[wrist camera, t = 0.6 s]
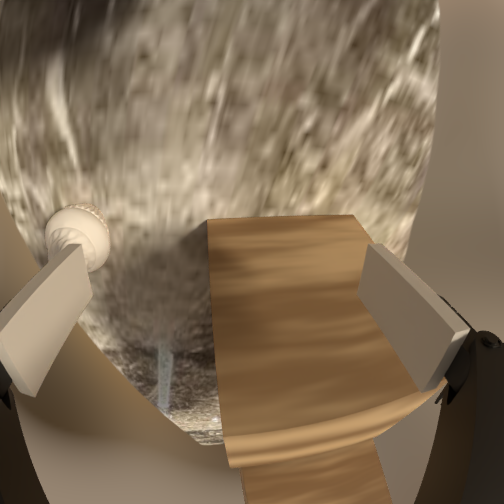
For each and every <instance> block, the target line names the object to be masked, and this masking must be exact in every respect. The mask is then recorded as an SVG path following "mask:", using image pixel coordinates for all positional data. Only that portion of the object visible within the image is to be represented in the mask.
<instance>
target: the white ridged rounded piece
mask: <svg viewBox="0 0 504 504" xmlns="http://www.w3.org/2000/svg"><path fill="white" fill-rule="evenodd" d="M109 235H110V234H109V230H108V227H107V224H106V222H105V219H104V216H103V214H102V213H101V211H99V209H97V207H94V205H91V204H77V205H70V206H69V207H65V208H64V209H62V210H60V211H58V212H57V213H55V214H54V215H53V216H52V217H51V218H50V220H49V221H48V223H47V225H46V229H45V243H46V247H47V250H48V261H50V260H51V259H53V258H54V257H55V256H56V255H57V254H58V253H59V252H60V251H61V250H62V249H63V248H65V247H66V246H67V245H68V244H82V248H83V253H84V258H85V263H86V267H87V272H88V273H90V272H93V271H95V270H97V269H98V268H100V267H101V266H102V265H103V264H104V263H105V261H106V260H107V258H108V256H109V253H110V238H109Z"/></svg>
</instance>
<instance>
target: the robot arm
mask: <svg viewBox="0 0 504 504" xmlns="http://www.w3.org/2000/svg"><path fill="white" fill-rule="evenodd" d="M357 296H358V297H359V298H360V300H361V301H362V303H363V304H364V306H365V307H366V309H367V310H368V311H369V313H370V314H371V316H372V317H373V319H374V320H375V322H376V323H377V325H378V326H379V328H380V329H381V331H382V332H383V334H384V335H385V337H386V338H387V340H388V341H389V343H390V344H391V346H392V347H393V349H394V351H395V352H396V354H397V355H398V357H399V358H400V360H401V362H402V363H403V365H404V366H405V368H406V369H407V371H408V373H409V374H410V376H411V378H412V379H413V381H414V383H415V384H416V386H417V387H418V389H419V391H420V392H421V393H424V392H427V391H430V390H433V389H436V388H437V387H438V385H439V383H440V382H441V380H442V379H443V377H445V379H446V380H447V381H448V383H447V385H446V386H445V387H444V389H443V391H442V392H441V393H440V395H439V396H438V398H437V399H436V401H435V404H437V403H438V402H439V400H440V399H442V403H441V410H440V416H439V421H438V426H437V430H436V434H435V439H434V443H433V447H432V451H431V454H430V458H429V462H428V465H427V468H426V471H425V474H424V477H423V481H422V484H421V486H420V489H419V492H418V495H417V497H416V500H415V502H414V504H504V343H502V341H501V340H500V339H499V338H498V337H497V336H496V335H495V334H493V333H491V332H489V331H479V332H476V331H475V330H474V329H473V328H472V327H471V326H470V325H469V323H468V322H467V321H466V320H465V319H464V318H463V317H462V316H461V315H460V314H459V313H457V311H456V310H455V309H454V308H453V307H451V305H450V304H449V303H448V302H447V301H446V300H445V299H444V298H443V297H441V296H439V295H438V294H436V293H435V292H434V291H433V290H432V289H431V288H430V287H429V286H428V285H427V284H426V283H425V282H424V281H422V280H421V279H420V278H419V277H418V276H417V275H416V274H415V273H414V272H413V271H412V270H411V269H409V268H408V267H407V266H406V265H405V264H404V263H403V262H402V261H401V260H400V259H398V258H397V257H396V256H395V255H394V254H393V253H392V252H390V251H389V250H388V249H387V248H386V247H385V246H384V245H382V244H368V246H367V251H366V256H365V260H364V265H363V269H362V274H361V278H360V283H359V287H358V291H357ZM92 297H93V292H92V288H91V284H90V280H89V276H88V272H87V267H86V263H85V258H84V253H83V248H82V244H68V245H67V246H66V247H65V248H63V249H62V250H61V251H60V252H59V253H58V254H57V255H56V256H55V257H54V258H53V259H51V260H50V261H49V262H48V263H47V264H46V265H45V266H44V267H43V268H42V269H41V270H40V271H39V272H38V273H37V274H36V275H35V276H34V277H33V278H32V279H31V280H30V281H29V282H28V283H27V284H26V285H25V286H24V287H23V288H22V289H21V290H20V291H19V292H18V294H16V296H15V297H14V298H13V299H11V300H10V301H9V302H8V303H7V304H6V305H5V306H4V308H3V310H1V311H0V504H49V502H48V500H47V498H46V495H45V493H44V491H43V489H42V486H41V484H40V482H39V479H38V477H37V474H36V472H35V469H34V466H33V464H32V461H31V458H30V455H29V452H28V449H27V446H26V443H25V440H24V436H23V433H22V429H21V425H20V421H19V417H18V414H17V409H16V404H15V400H14V395H13V392H12V390H11V389H10V385H11V383H12V381H13V382H14V384H15V385H16V387H17V388H18V390H19V391H20V393H23V394H26V395H29V396H32V397H35V396H36V394H37V392H38V390H39V388H40V386H41V384H42V382H43V380H44V378H45V376H46V374H47V372H48V371H49V368H50V367H51V365H52V363H53V361H54V359H55V357H56V356H57V354H58V352H59V350H60V349H61V347H62V345H63V343H64V342H65V340H66V338H67V337H68V335H69V333H70V331H71V330H72V328H73V327H74V325H75V323H76V322H77V320H78V318H79V317H80V315H81V314H82V312H83V311H84V309H85V307H86V306H87V304H88V303H89V301H90V300H91V298H92Z"/></svg>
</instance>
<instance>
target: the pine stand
mask: <svg viewBox="0 0 504 504" xmlns="http://www.w3.org/2000/svg"><path fill="white" fill-rule="evenodd" d="M207 232H208V257H209V278H210V296H211V311H212V326H213V339H214V352H215V363H216V374H217V385H218V395H219V404H220V413H221V422H222V431H223V438H224V443H225V447H226V452H227V456H228V460H229V465H230V468H239V470H240V476H241V483H242V489H243V495H244V501H245V504H392V500H391V497H390V493H389V490H388V486H387V483H386V480H385V476H384V473H383V470H382V467H381V463H380V460H379V457H378V454H377V450H376V447H375V444H374V441H373V437H377V436H378V435H380V434H381V433H383V432H384V431H386V430H387V429H389V428H390V427H391V426H393V425H394V424H396V423H397V422H399V421H400V420H401V419H403V418H404V417H405V416H407V415H408V414H409V413H411V412H412V411H413V410H415V409H416V408H417V407H419V406H420V405H421V404H422V403H423V402H425V401H426V400H427V399H428V398H430V397H431V396H432V395H433V394H434V393H435V392H437V391H438V390H439V389H440V388H441V387H442V386H443V385H444V384H446V383H447V382H448V381H447V380H446V379H445V377H443V379H442V380H441V382H440V383H439V385H438V387H437V388H436V389H433V390H430V391H427V392H424V393H421V392H420V391H419V389H418V387H417V386H416V384H415V383H414V381H413V379H412V378H411V376H410V374H409V373H408V371H407V369H406V368H405V366H404V365H403V363H402V362H401V360H400V358H399V357H398V355H397V354H396V352H395V351H394V349H393V347H392V346H391V344H390V343H389V341H388V340H387V338H386V337H385V335H384V334H383V332H382V331H381V329H380V328H379V326H378V325H377V323H376V322H375V320H374V319H373V317H372V316H371V314H370V313H369V311H368V310H367V309H366V307H365V306H364V304H363V303H362V301H361V300H360V298H359V297H358V296H357V291H358V287H359V283H360V278H361V274H362V269H363V265H364V260H365V256H366V251H367V246H368V244H375V243H374V242H373V240H372V239H371V238H370V236H369V235H368V234H367V232H366V231H365V230H364V228H363V227H362V226H361V224H360V223H359V222H358V220H357V219H356V218H355V217H354V215H313V216H276V217H250V218H227V219H208V220H207Z"/></svg>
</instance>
